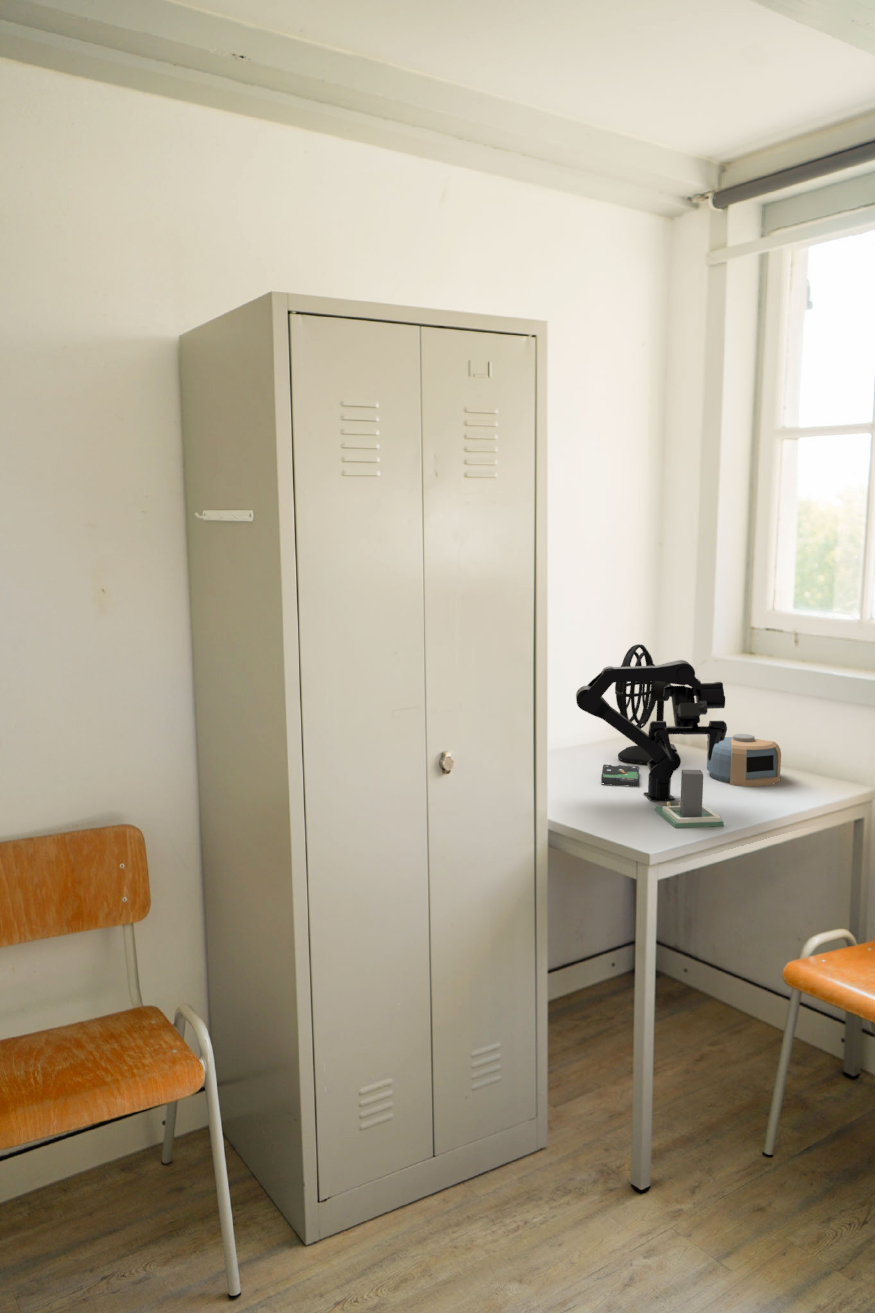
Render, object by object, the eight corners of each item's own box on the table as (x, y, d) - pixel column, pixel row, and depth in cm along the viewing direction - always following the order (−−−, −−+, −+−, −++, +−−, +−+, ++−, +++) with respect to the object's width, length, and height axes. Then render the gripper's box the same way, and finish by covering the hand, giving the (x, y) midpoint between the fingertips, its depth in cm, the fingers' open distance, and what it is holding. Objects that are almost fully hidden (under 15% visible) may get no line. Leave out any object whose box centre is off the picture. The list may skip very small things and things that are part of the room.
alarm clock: (734, 789, 260) (736, 745, 258) (693, 771, 278) (694, 730, 277) (793, 783, 266) (795, 740, 264) (748, 766, 284) (750, 726, 283)
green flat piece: (654, 810, 239) (655, 800, 239) (700, 808, 241) (701, 799, 240) (675, 827, 226) (675, 817, 225) (723, 825, 227) (724, 815, 227)
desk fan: (629, 745, 311) (632, 639, 307) (683, 751, 303) (687, 642, 298) (603, 763, 288) (605, 648, 283) (660, 770, 279) (664, 651, 275)
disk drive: (602, 773, 278) (601, 786, 264) (602, 764, 278) (601, 776, 263) (638, 775, 276) (639, 788, 262) (638, 765, 276) (639, 778, 261)
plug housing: (680, 813, 234) (681, 769, 232) (698, 813, 233) (700, 769, 232) (682, 818, 230) (684, 773, 228) (701, 818, 229) (703, 774, 228)
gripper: (650, 689, 239) (655, 742, 230) (726, 689, 237) (734, 742, 228) (646, 714, 248) (651, 766, 239) (719, 714, 246) (727, 766, 237)
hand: (690, 759), depth 235 cm, fingers open, 9 cm apart
